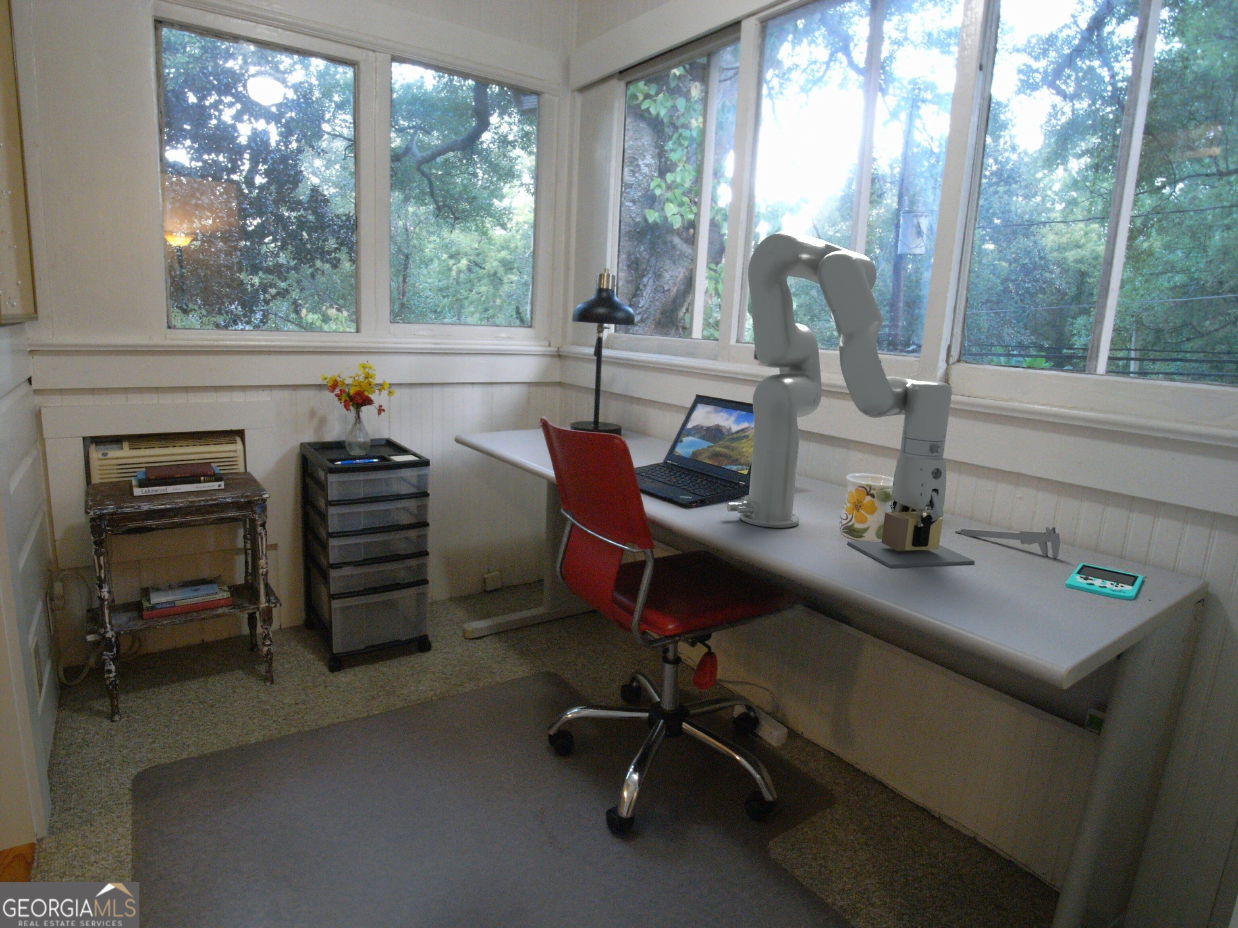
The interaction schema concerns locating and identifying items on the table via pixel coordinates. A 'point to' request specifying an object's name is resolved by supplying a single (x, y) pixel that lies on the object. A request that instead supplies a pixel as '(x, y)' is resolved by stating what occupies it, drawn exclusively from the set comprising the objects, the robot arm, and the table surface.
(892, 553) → the desk mat
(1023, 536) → the caliper
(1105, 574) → the handheld game console
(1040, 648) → the table surface
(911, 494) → the robot arm
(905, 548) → the card box
